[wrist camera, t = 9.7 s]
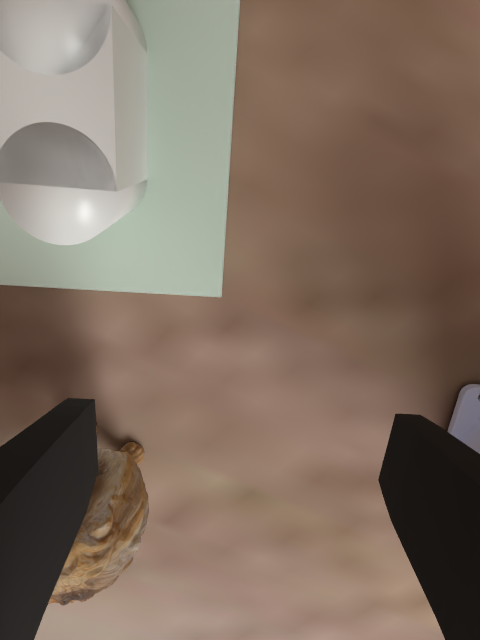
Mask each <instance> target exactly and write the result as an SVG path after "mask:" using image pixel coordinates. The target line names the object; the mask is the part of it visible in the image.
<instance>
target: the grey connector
mask: <svg viewBox="0 0 480 640" xmlns="http://www.w3.org/2000/svg"><path fill="white" fill-rule="evenodd" d="M146 187H147V46H146V40H145V36H144V33H143V30H142V28H141V26H140V24H139V22H138V20H137V19H136V17H135V15H134V14H133V12H132V10H131V9H130V7H129V5H128V4H127V2H126V1H125V0H0V199H1V202H2V204H3V206H4V208H5V209H6V211H7V213H8V214H9V215H10V217H11V218H12V219H13V220H14V221H15V222H16V224H17V225H18V226H20V227H21V228H22V229H23V230H24V231H26V232H27V233H29V234H30V235H32V236H33V237H35V238H37V239H39V240H42V241H44V242H47V243H51V244H57V245H74V244H79V243H83V242H85V241H88V240H90V239H92V238H93V237H95V236H96V235H98V234H99V233H101V232H102V231H104V230H105V229H107V228H108V227H109V226H111V225H112V224H114V223H115V222H117V221H118V220H120V219H121V218H122V217H124V216H125V215H127V214H128V213H130V212H131V211H132V210H134V209H135V208H136V207H137V206H138V205H139V203H140V202H141V200H142V199H143V197H144V194H145V191H146Z"/></svg>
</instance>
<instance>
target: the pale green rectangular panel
mask: <svg viewBox="0 0 480 640" xmlns="http://www.w3.org/2000/svg"><path fill="white" fill-rule="evenodd" d="M125 1H126V2H127V4H128V5H129V7H130V9H131V10H132V12H133V14H134V15H135V17H136V19H137V20H138V22H139V24H140V26H141V28H142V30H143V33H144V36H145V40H146V46H147V187H146V191H145V194H144V197H143V199H142V200H141V202H140V203H139V205H138V206H137V207H136V208H135V209H134V210H132V211H131V212H130V213H128V214H127V215H125V216H124V217H122V218H121V219H120V220H118V221H117V222H115V223H114V224H112V225H111V226H109V227H108V228H107V229H105V230H104V231H102V232H101V233H99V234H98V235H96V236H95V237H93V238H92V239H90V240H88V241H85V242H83V243H79V244H74V245H57V244H51V243H47V242H44V241H42V240H39V239H37V238H35V237H33V236H32V235H30V234H29V233H27V232H26V231H24V230H23V229H22V228H21V227H20V226H18V225H17V224H16V222H15V221H14V220H13V219H12V218H11V217H10V215H9V214H8V213H7V211H6V209H5V208H4V206H3V204H2V202H1V199H0V285H13V286H31V287H48V288H66V289H84V290H102V291H120V292H138V293H155V294H173V295H191V296H209V297H221V296H222V280H223V264H224V248H225V232H226V216H227V200H228V184H229V168H230V152H231V136H232V120H233V104H234V88H235V72H236V56H237V40H238V24H239V8H240V0H125Z"/></svg>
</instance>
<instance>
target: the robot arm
mask: <svg viewBox="0 0 480 640" xmlns="http://www.w3.org/2000/svg"><path fill="white" fill-rule="evenodd" d="M479 395H480V384H469V385H466V386H464V387H463V388H462V389H461V391H460V393H459V396H458V400H457V403H456V406H455V409H454V412H453V415H452V419H451V422H450V425H449V428H448V431H445V430H444V429H442V428H441V427H439V426H438V425H436V424H435V423H433V422H431V421H430V420H428V419H426V418H425V417H423V416H421V415H412V414H395V418H394V422H393V426H392V430H391V433H390V437H389V441H388V445H387V449H386V453H385V456H384V460H383V464H382V468H381V472H380V476H379V479H378V480H379V484H380V487H381V490H382V494H383V497H384V501H385V504H386V507H387V510H388V513H389V516H390V519H391V521H392V524H393V526H394V528H395V530H396V533H397V535H398V537H399V539H400V541H401V544H402V546H403V548H404V550H405V552H406V554H407V557H408V559H409V561H410V563H411V565H412V567H413V569H414V572H415V574H416V576H417V578H418V580H419V582H420V584H421V587H422V589H423V591H424V593H425V595H426V597H427V599H428V602H429V604H430V606H431V608H432V610H433V612H434V614H435V617H436V619H437V621H438V623H439V626H440V628H441V630H442V633H443V635H444V638H445V640H480V397H478V396H479ZM97 473H98V452H97V433H96V414H95V400H93V399H72V398H68V399H66V400H65V401H63V402H62V403H60V404H59V405H57V406H56V407H55V408H53V409H52V410H51V411H49V412H48V413H47V414H45V415H44V416H42V417H41V418H40V419H38V420H37V421H36V422H34V423H33V424H32V425H30V426H29V427H28V428H26V429H25V430H23V431H22V432H21V433H19V434H18V435H16V436H15V437H14V438H12V439H11V440H9V441H8V442H7V443H5V444H4V445H2V446H1V447H0V640H34V638H35V635H36V633H37V630H38V627H39V625H40V622H41V620H42V617H43V614H44V612H45V610H46V607H47V605H48V602H49V600H50V598H51V595H52V593H53V591H54V588H55V586H56V584H57V581H58V579H59V576H60V574H61V572H62V569H63V567H64V565H65V562H66V560H67V558H68V555H69V553H70V550H71V548H72V546H73V543H74V541H75V538H76V536H77V534H78V531H79V529H80V526H81V524H82V522H83V519H84V517H85V514H86V512H87V509H88V505H89V502H90V498H91V495H92V492H93V488H94V484H95V481H96V477H97Z"/></svg>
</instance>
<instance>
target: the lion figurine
mask: <svg viewBox="0 0 480 640" xmlns="http://www.w3.org/2000/svg"><path fill="white" fill-rule="evenodd" d="M96 433H98V426H97V425H96ZM97 452H98V473H97V477H96V481H95V484H94V488H93V492H92V495H91V498H90V502H89V505H88V509H87V512H86V514H85V517H84V519H83V522H82V524H81V526H80V529H79V531H78V534H77V536H76V538H75V541H74V543H73V546H72V548H71V550H70V553H69V555H68V558H67V560H66V562H65V565H64V567H63V569H62V572H61V574H60V576H59V579H58V581H57V584H56V586H55V588H54V591H53V593H52V595H51V598H50V600H49V602H48V604H49V603H54V602H56V603H60V604H61V605H66V604H68V603H73V602H74V601H75V600H78V601H81V602H83V601H86V600H87V599H89V598H91V597H92V596H93V595H94V594H96V593H98V592H100V591H102V590H103V589H106V588H108V587H109V586H111V585H112V584H113V583H114V582H115V581H116V580H117V578H118V577H119V574H121V573H122V572H123V571H125V570H126V569H127V568H128V566H129V565H130V564H131V562H132V560H133V556H134V555H135V553H136V552H137V549H138V548H139V546H140V543H141V535H142V534H143V533H144V530H145V528H146V526H147V519H148V513H149V503H148V494H147V492H146V488H145V484H144V482H143V478H142V474H141V471H140V469H139V467H138V466H137V464H139V463H141V462H142V460H143V455H144V450H143V448H142V446H141V445H139V444H137V443H135V442H129V443H127V444H126V445H124V446H123V447H122V448H121V450H119V451H113V450H111V449H97Z"/></svg>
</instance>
